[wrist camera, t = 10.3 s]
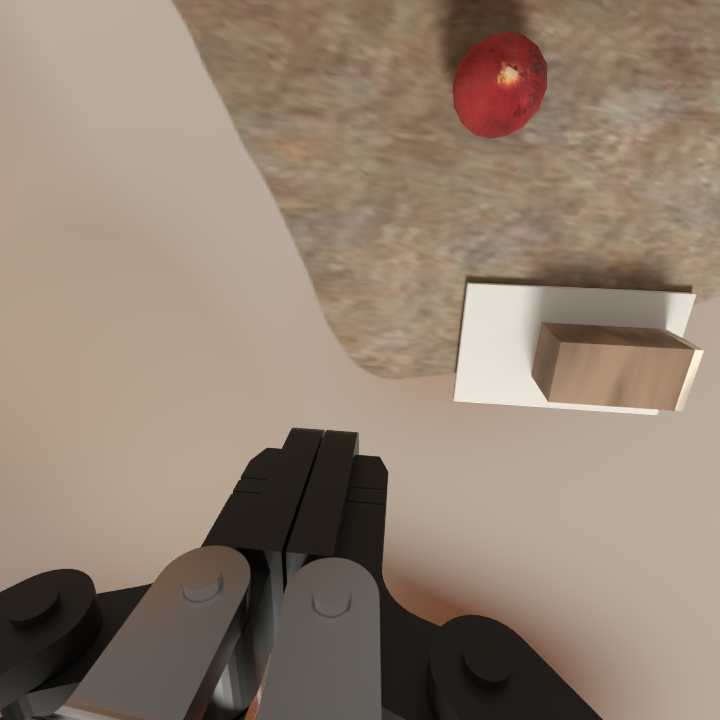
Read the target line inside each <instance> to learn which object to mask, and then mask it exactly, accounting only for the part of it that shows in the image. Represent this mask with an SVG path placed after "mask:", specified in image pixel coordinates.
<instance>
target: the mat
mask: <svg viewBox="0 0 720 720" xmlns="http://www.w3.org/2000/svg"><path fill="white" fill-rule="evenodd" d="M695 297H696V294H694V293H689V292H667V291H646V290H624V289H602V288H580V287H559V286H537V285H515V284H493V283H472V282H467V287H466V295H465V303H464V312H463V320H462V329H461V337H460V345H459V354H458V362H457V370H456V380H455V387H454V395H453V400H454V401H462V402H476V403H490V404H505V405H519V406H534V407H548V408H562V409H578V410H591V411H607V412H621V413H635V414H650V415H657V414H658V411H659V410H657V409H643V408H628V407H613V406H598V405H584V404H569V403H554V402H548V401H547V399H546V398H545V396H544V395H543V393H542V392H541V390H540V389H539V387H538V386H537V384H536V383H535V381H534V379H533V378H532V370H533V365H534V360H535V355H536V350H537V344H538V339H539V334H540V329H541V324H542V322H543V323H561V324H580V325H599V326H618V327H637V328H655V329H667V330H668V331H670V332H672V333H674V334H676V335H677V336H679V337H681V338H682V337H683V334H684V331H685V328H686V325H687V321H688V319H689V315H690V312H691V309H692V306H693V303H694V300H695Z"/></svg>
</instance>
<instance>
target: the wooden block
mask: <svg viewBox="0 0 720 720" xmlns="http://www.w3.org/2000/svg"><path fill="white" fill-rule="evenodd" d="M703 352H704V350H702V349H701V348H699V347H697V346H695V345H694V344H692V343H690V342H688V341H686V340H685V339H683V338H681V337H679V336H677V335H676V334H674V333H672V332H670V331H668V330H667V329H655V328H637V327H618V326H599V325H580V324H561V323H543V322H542V324H541V329H540V334H539V339H538V344H537V350H536V355H535V360H534V365H533V370H532V378H533V379H534V381H535V383H536V384H537V386H538V387H539V389H540V390H541V392H542V393H543V395H544V396H545V398H546V399H547V401H548V402H554V403H569V404H584V405H598V406H613V407H628V408H643V409H657V410H672V411H683V409H684V406H685V403H686V400H687V398H688V395H689V392H690V389H691V386H692V383H693V380H694V377H695V375H696V372H697V369H698V365H699V363H700V360H701V357H702V354H703Z"/></svg>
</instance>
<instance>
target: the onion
mask: <svg viewBox="0 0 720 720" xmlns="http://www.w3.org/2000/svg"><path fill="white" fill-rule="evenodd" d="M546 89H547V63H546V61H545V60H544V58H543V56H542V53H541V51H540V49H539V47H538V46H537V45H536V44H535V43H533V42H532V41H531V40H530V39H528V38H527V37H526V36H524V35H522V34H517V33H512V32H503V33H499V34H495V35H491V36H488V37H486V38H485V39H483V40H482V41H480V42H479V43H477V44H476V45H474V46H473V47H471V48H470V50H469V51H468V52H467V54H466V55H465V57H464V58H463V60H462V61H461V63H460V64H459V66H458V68H457V72H456V76H455V80H454V84H453V97H454V107H455V109H456V112H457V114H458V116H459V119H460V121H461V123H462V124H463V125H464V126H465V127H467V128H468V129H469V130H470V131H471V132H472V133H473V134H474V135H478V136H482V137H486V138H490V139H491V138H497V137H502V136H507V135H509V134H511V133H513V132H515V131H517V130H519V129H520V128H522V127H523V126H524V125H525V124H526V123H527V122H528V121H529V120H530V118H531V117H532V116H533V115H534V114H535V113H536V112H537V110H538V109H539V107H540V104H541V101H542V99H543V96H544V94H545V91H546Z"/></svg>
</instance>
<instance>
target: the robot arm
mask: <svg viewBox="0 0 720 720" xmlns="http://www.w3.org/2000/svg"><path fill="white" fill-rule="evenodd" d="M387 484H388V471H387V469H386V467H385V465H384V464H383V462H382V460H381V458H380V457H377V456H365V455H359V433H357V432H344V431H333V430H326V432H325V430H318V429H304V428H292V429H291V431H290V433H289V435H288V437H287V439H286V441H285V443H284V445H283V448H282V449H277V448H266V449H265V450H264V451H262V452H261V453H259V454H258V455H257V456H256V457H254V458H253V459H252V460H250V462H249V464H248V465H247V467H246V469H245V471H244V472H243V474H242V476H241V480H239V481H238V483H237V485H236V486H235V488H234V490H233V494H231V495H230V497H229V499H228V500H227V502H226V504H225V506H224V507H223V509H222V511H221V513H220V514H219V516H218V518H217V520H216V522H215V523H214V525H213V527H212V528H211V530H210V532H209V534H208V535H207V537H206V539H205V541H204V543H203V544H202V546H201V548H198V549H194V550H192V551H189V552H187V553H185V554H183V555H181V556H179V557H178V558H176V559H175V560H173V561H172V562H171V563H170V564H169V565H168V566H167V567H165V569H164V570H163V571H162V572H161V573H160V575H159V576H158V578H157V579H156V580H155V582H154V583H151V584H148V585H143V586H139V587H133V588H127V589H122V590H117V591H111V592H105V593H99V594H96V590H95V587H94V584H93V581H92V579H91V578H90V577H89V576H88V575H87V574H85V573H84V572H82V571H79V570H74V569H59V570H53V571H48V572H44V573H41V574H38V575H35V576H33V577H31V578H28V579H26V580H24V581H22V582H20V583H18V584H16V585H14V586H12V587H10V588H8V589H6V590H4V591H2V592H0V712H1V715H2V717H1V718H0V720H254V718H255V715H256V713H257V710H258V707H259V703H260V700H261V704H260V708H259V712H258V717H257V720H603V719H602V718H601V717H599V715H598V714H597V713H596V712H595V711H594V710H593V709H592V708H591V707H590V706H589V705H587V703H586V702H585V701H584V700H583V699H582V698H581V697H580V696H579V695H578V694H577V693H576V692H575V691H574V690H573V689H572V688H571V687H570V686H569V685H568V684H567V683H566V682H565V681H564V680H563V679H562V678H561V677H560V676H559V675H558V674H557V673H556V672H555V671H554V670H553V669H552V668H551V667H550V666H549V665H548V664H547V663H546V662H545V661H544V660H543V659H542V658H541V657H540V656H539V655H538V654H537V653H536V652H535V651H534V650H533V649H532V648H531V647H530V646H529V645H528V644H527V643H526V642H525V641H524V640H523V639H522V638H521V637H520V636H519V635H518V634H517V633H516V632H515V631H513V630H512V629H510V628H509V627H507V626H506V625H504V624H502V623H500V622H498V621H496V620H494V619H491V618H488V617H484V616H478V615H466V616H460V617H456V618H453V619H451V620H449V621H447V622H446V623H445V624H444V625H442V626H441V627H440V626H438V625H436V624H433V623H431V622H429V621H427V620H424V619H422V618H420V617H418V616H416V615H414V614H412V613H410V612H409V611H407V610H406V609H404V608H403V607H402V606H401V605H399V604H398V603H397V602H396V601H395V600H394V598H393V597H392V596H391V595H390V593H389V591H388V590H387V588H386V586H385V583H384V581H383V576H382V563H383V548H384V533H385V516H386V501H387V500H386V499H387ZM270 653H271V657H270V661H269V666H268V671H267V676H266V680H265V685H264V689H263V694H262V699H261V682H262V679H263V676H264V672H265V669H266V665H267V662H268V658H269V655H270Z"/></svg>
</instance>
